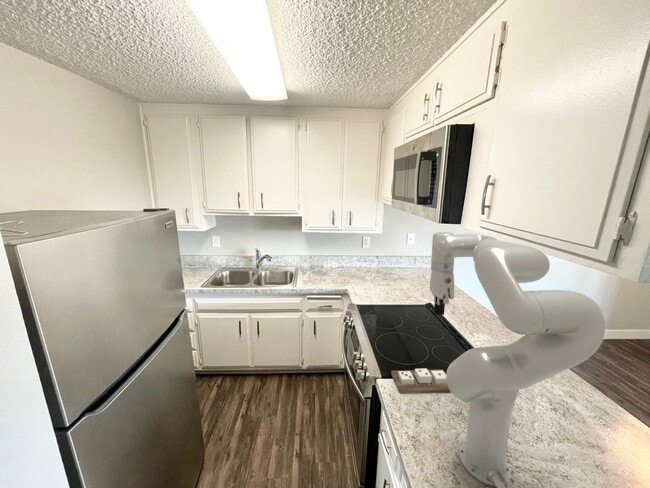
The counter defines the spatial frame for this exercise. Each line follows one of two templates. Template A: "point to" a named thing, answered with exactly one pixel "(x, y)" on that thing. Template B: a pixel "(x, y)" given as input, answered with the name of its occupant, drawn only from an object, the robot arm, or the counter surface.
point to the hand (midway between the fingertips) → (438, 313)
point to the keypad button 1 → (438, 377)
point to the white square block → (405, 378)
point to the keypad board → (419, 388)
